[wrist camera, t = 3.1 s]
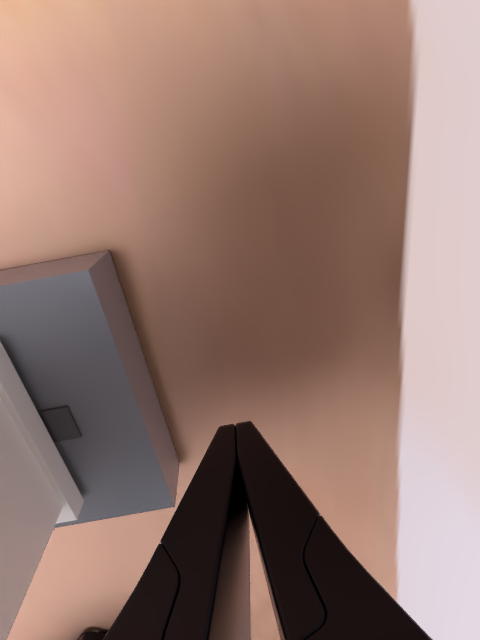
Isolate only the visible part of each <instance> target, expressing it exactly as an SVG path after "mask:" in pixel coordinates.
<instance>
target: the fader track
mask: <svg viewBox="0 0 480 640" xmlns="http://www.w3.org/2000/svg"><path fill="white" fill-rule="evenodd" d="M0 341H1V343H2V345H3V347H4V349H5V351H6V353H7V355H8V357H9V358H10V360H11V362H12V364H13V366H14V368H15V370H16V372H17V374H18V376H19V377H20V379H21V381H22V383H23V385H24V387H25V389H26V391H27V393H28V395H29V397H30V398H31V400H32V402H33V404H34V406H35V408H36V410H37V412H38V414H39V416H40V418H41V419H42V421H43V423H44V425H45V427H46V429H47V431H48V433H49V435H50V437H51V438H52V440H53V442H54V444H55V446H56V448H57V450H58V452H59V454H60V456H61V458H62V459H63V461H64V463H65V465H66V467H67V469H68V471H69V473H70V475H71V477H72V478H73V480H74V482H75V484H76V486H77V488H78V490H79V492H80V494H81V496H82V498H83V499H84V503H83V506H82V508H81V511H80V514H79V516H78V519H77V520H74V521H69V522H63V523H57V524H55V526H54V529H53V530H55V528H57V527H62V526H68V525H74V524H79V523H85V522H91V521H96V520H102V519H108V518H113V517H119V516H125V515H130V514H136V513H142V512H147V511H153V510H159V509H164V508H170V507H175V501H176V491H177V482H178V473H179V464H180V463H179V460H178V457H177V454H176V451H175V448H174V445H173V442H172V439H171V436H170V433H169V430H168V427H167V424H166V421H165V418H164V414H163V411H162V408H161V405H160V402H159V399H158V396H157V393H156V390H155V387H154V384H153V381H152V378H151V375H150V372H149V369H148V366H147V363H146V360H145V357H144V354H143V351H142V348H141V345H140V342H139V339H138V336H137V333H136V330H135V327H134V324H133V321H132V318H131V315H130V312H129V309H128V306H127V303H126V300H125V297H124V294H123V291H122V288H121V285H120V281H119V278H118V275H117V272H116V269H115V266H114V263H113V260H112V257H111V254H110V251H109V250H108V251H102V252H97V253H91V254H86V255H81V256H75V257H70V258H64V259H59V260H53V261H48V262H42V263H37V264H31V265H26V266H20V267H15V268H9V269H4V270H0Z"/></svg>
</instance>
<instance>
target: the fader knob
mask: <svg viewBox="0 0 480 640" xmlns="http://www.w3.org/2000/svg"><path fill="white" fill-rule="evenodd" d="M83 503H84V499H83V498H82V496H81V494H80V492H79V490H78V488H77V486H76V484H75V482H74V480H73V478H72V477H71V475H70V473H69V471H68V469H67V467H66V465H65V463H64V461H63V459H62V458H61V456H60V454H59V452H58V450H57V448H56V446H55V444H54V442H53V440H52V438H51V437H50V435H49V433H48V431H47V429H46V427H45V425H44V423H43V421H42V419H41V418H40V416H39V414H38V412H37V410H36V408H35V406H34V404H33V402H32V400H31V398H30V397H29V395H28V393H27V391H26V389H25V387H24V385H23V383H22V381H21V379H20V377H19V376H18V374H17V372H16V370H15V368H14V366H13V364H12V362H11V360H10V358H9V357H8V355H7V353H6V351H5V349H4V347H3V345H2V343H1V341H0V640H7V637H8V635H9V633H10V630H11V628H12V625H13V623H14V621H15V618H16V616H17V614H18V611H19V609H20V607H21V604H22V602H23V600H24V597H25V595H26V592H27V590H28V588H29V585H30V583H31V581H32V578H33V576H34V574H35V571H36V569H37V567H38V564H39V562H40V559H41V557H42V555H43V552H44V550H45V548H46V545H47V543H48V541H49V538H50V536H51V534H52V531H53V529H54V526H55V524H57V523H63V522H69V521H74V520H77V519H78V516H79V514H80V511H81V508H82V506H83Z"/></svg>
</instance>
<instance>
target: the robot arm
mask: <svg viewBox="0 0 480 640" xmlns="http://www.w3.org/2000/svg"><path fill="white" fill-rule="evenodd" d="M248 509H249V510H248ZM249 513H250V518H251V522H252V526H253V530H254V534H255V538H256V542H257V546H258V550H259V554H260V558H261V562H262V566H263V570H264V574H265V578H266V582H267V586H268V590H269V594H270V598H271V602H272V606H273V610H274V614H275V618H276V622H277V626H278V630H279V634H280V638H281V640H432V639H431V638H430V637H429V636H428V635H427V634H426V633H425V632H424V631H423V630H422V629H421V628H420V626H419V625H417V623H416V622H415V621H414V620H413V619H412V618H411V617H410V616H409V615H408V614H407V613H406V612H405V611H404V610H403V608H402V607H400V605H399V604H398V603H397V602H396V601H395V600H394V599H393V598H392V597H391V596H390V595H389V594H388V593H387V592H386V591H385V589H384V588H383V587H382V586H381V585H380V584H379V583H378V582H377V581H376V580H375V579H374V578H373V577H372V576H371V575H370V574H369V573H368V572H367V570H366V569H365V568H364V567H363V566H362V565H361V564H360V563H359V561H358V560H357V559H356V558H355V557H354V556H353V555H352V554H351V553H350V551H349V550H348V549H347V548H346V547H345V545H344V544H343V543H342V542H341V540H340V539H339V538H338V537H337V535H336V534H335V533H334V532H333V530H332V529H331V528H330V526H329V525H328V524H327V522H326V521H325V520H324V518H323V517H322V516H320V513H319V512H318V510H317V509H316V508H315V506H314V505H313V504H312V502H311V501H310V500H309V498H308V497H307V496H306V494H305V493H304V492H303V490H302V489H301V488H300V486H299V485H298V484H297V482H296V481H295V479H294V478H293V477H292V475H291V474H290V473H289V471H288V470H287V469H286V467H285V466H284V465H283V463H282V462H281V461H280V459H279V458H278V457H277V455H276V454H275V453H274V451H273V450H272V449H271V447H270V446H269V444H268V443H267V442H266V440H265V439H264V438H263V436H262V435H261V434H260V432H259V431H258V430H257V428H256V427H255V426H254V424H253V423H252V422H251V421H247V422H241V423H237V424H236V426H235V425H234V424H230V425H224V426H220V427H219V428H218V430H217V432H216V434H215V436H214V438H213V440H212V442H211V444H210V445H209V447H208V449H207V451H206V453H205V455H204V457H203V459H202V461H201V463H200V465H199V467H198V469H197V471H196V473H195V475H194V477H193V479H192V481H191V483H190V484H189V486H188V488H187V490H186V492H185V494H184V496H183V498H182V500H181V502H180V504H179V506H178V508H177V510H176V512H175V514H174V516H173V518H172V520H171V521H170V523H169V525H168V527H167V529H166V531H165V533H164V535H163V537H162V539H161V544H159V545H158V546H157V548H156V550H155V552H154V554H153V556H152V558H151V560H150V562H149V564H148V566H147V568H146V569H145V571H144V573H143V575H142V577H141V579H140V580H139V582H138V584H137V586H136V587H135V589H134V591H133V592H132V594H131V596H130V597H129V599H128V601H127V602H126V604H125V605H124V607H123V609H122V610H121V612H120V614H119V615H118V617H117V618H116V620H115V622H114V623H113V625H112V626H111V628H110V629H109V631H108V632H107V634H101V633H97V632H86V633H84V634H83V635H82V636H81V637H80V638H79V640H251V638H250V546H249Z"/></svg>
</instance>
